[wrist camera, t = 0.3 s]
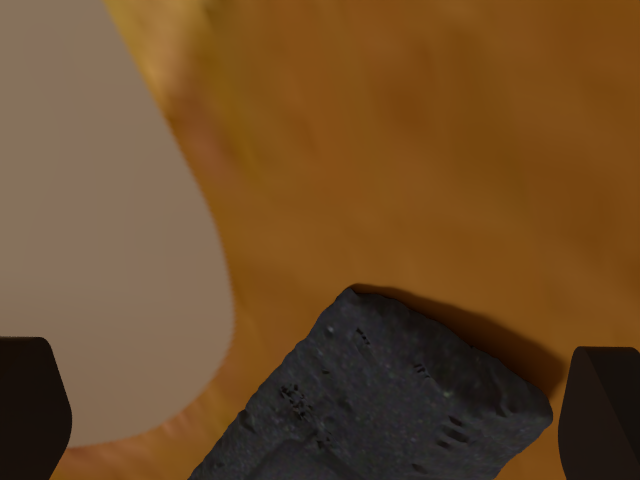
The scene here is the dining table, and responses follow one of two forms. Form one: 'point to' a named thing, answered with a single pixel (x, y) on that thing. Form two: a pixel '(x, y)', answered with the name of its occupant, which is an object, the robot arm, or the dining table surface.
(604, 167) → the dining table surface
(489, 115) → the dining table surface
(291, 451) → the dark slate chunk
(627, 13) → the dining table surface
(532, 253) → the dining table surface
